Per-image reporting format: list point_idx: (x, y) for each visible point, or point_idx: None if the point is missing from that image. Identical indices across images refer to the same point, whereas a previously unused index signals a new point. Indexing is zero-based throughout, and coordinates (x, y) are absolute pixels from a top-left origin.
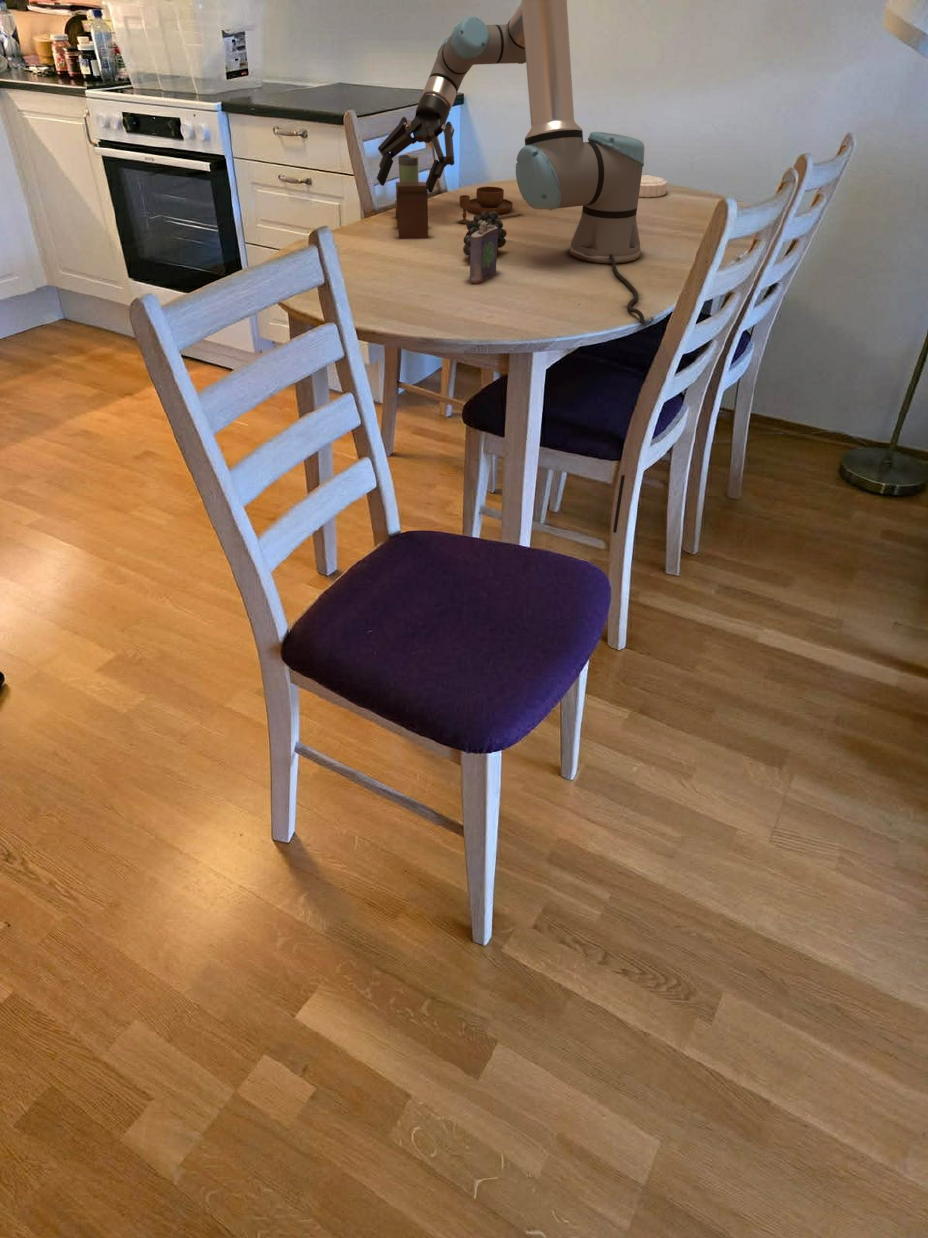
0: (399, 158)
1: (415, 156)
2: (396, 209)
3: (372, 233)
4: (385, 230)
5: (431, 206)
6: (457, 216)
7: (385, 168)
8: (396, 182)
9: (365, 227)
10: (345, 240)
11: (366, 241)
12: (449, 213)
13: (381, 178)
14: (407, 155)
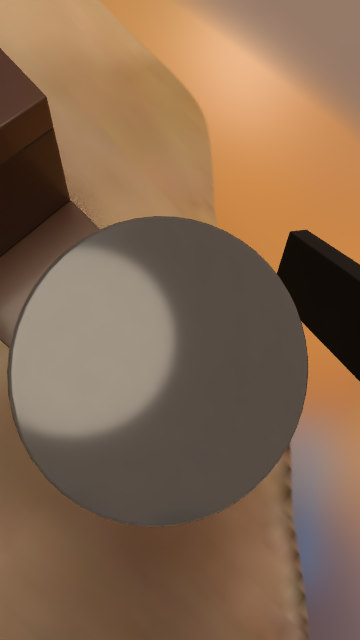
0: (216, 231)
1: (104, 460)
2: (94, 226)
3: (96, 123)
4: (89, 181)
5: (214, 577)
6: (9, 560)
7: (341, 301)
8: (29, 86)
9: (172, 173)
10: (101, 6)
11: (33, 26)
12: (77, 565)
13: (291, 258)
14: (248, 420)
